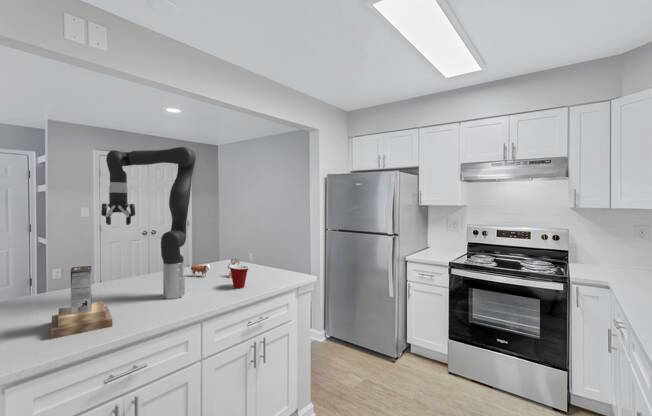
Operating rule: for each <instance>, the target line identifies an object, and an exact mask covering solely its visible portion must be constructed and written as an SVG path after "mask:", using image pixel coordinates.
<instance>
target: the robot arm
mask: <svg viewBox="0 0 652 416" xmlns="http://www.w3.org/2000/svg"><path fill="white" fill-rule="evenodd" d="M105 157H106V159H105V160H106V164H107V165H106V166H107V169H108V173H109V186H108V189H109V190H108V193H109V194H108V195H109V196H108V198H109V199H108V202H109V203H105V202H104V203H102V204H101V214H100V215H101V216H102V217H105V223H106V224H107V225H109V226H110V225H112V217H111V216H112V215H113V214H114V213H122V214H124V215H125V216H126V217H125V220H126V221H125V224H126V225H127V226H129V225H130V224H131V223H132V217H135V216H136V207H135V206H136V205H135V204H134V203H128V192H129V191H128V184H127V183H128V180H127V178H128V176H127V172H126V171H125V170H124V168H123V167H128V166H145V165H147V166H148V165H156V164H174V165H177V174H176V177H175V180H174V182H173V184H172V186H171V189H170V192H169V199H168V200H169V201H168V207H169V212H170V215H171V227H170V231H167V232H164V233H163V234H162V235H161V239H160V253H161V258H162V262H163V263H162V275H163V276H162V278H163V279H162V285H163V286H162V290H163V291H162V297H163V299H167V300H172V299H179V298H182V297H183V296H184V295H185V294H186V293H185V290H186V288H185V287H186V285H185V284H186V283H185V282H186V281H185V278H186V277H185V275H184V256H183V255H182V254H181V249H180V248H182V247H183V246H184V245H185V243H186V241H187V219H188V214H189V213H188V212H189V206H190V199H191V191H192V190H191V189H192V188H191V187H192V180H193V173H194V168H195V165H196V160H197V156H196V154H195V152H194V150H193V149H190V148H188V147H186V146H178V147H173V148H168V149H158V150H154V149H153V150H148V149H147V150H145V149H144V150H132V151H128V152H127V151H125V152H124V151H119V150H115V149H114V150H110V151H108V152H107V154H106V156H105ZM108 208H109V210H108ZM128 208H129V209H128Z"/></svg>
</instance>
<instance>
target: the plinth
mask: <svg viewBox="0 0 652 416" xmlns="http://www.w3.org/2000/svg"><path fill="white" fill-rule="evenodd" d="M111 327H113V316H112V314H111V311H110V308H109V306H108V305H104V303H103V301H94V302H92V308H91V311H89V312H82V313H76V314H71V305H70V306H65V307H59V308H58V313H57V314H53V315H51V326H50V339H51V340H53V339H58V338H62V337H68V336H72V335H77V334H82V333H86V332H91V331H97V330H102V329H106V328H111Z"/></svg>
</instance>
